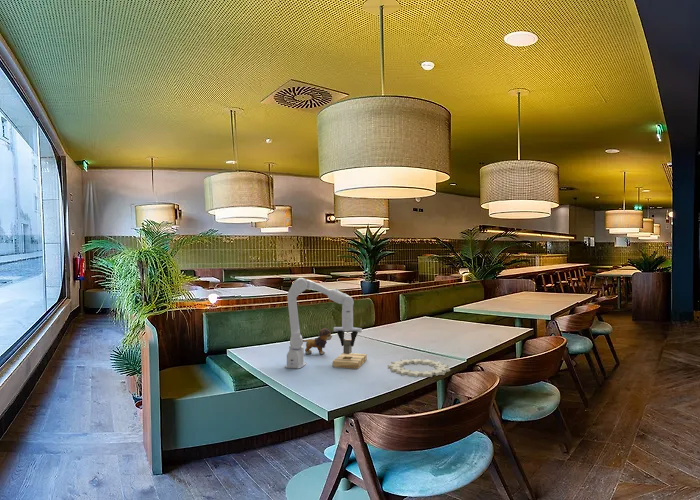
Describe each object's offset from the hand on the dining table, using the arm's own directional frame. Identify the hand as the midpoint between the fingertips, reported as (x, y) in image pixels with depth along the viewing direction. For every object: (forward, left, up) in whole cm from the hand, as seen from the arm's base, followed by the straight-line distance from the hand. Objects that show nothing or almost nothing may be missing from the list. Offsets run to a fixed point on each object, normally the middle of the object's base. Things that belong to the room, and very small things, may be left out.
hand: (347, 345), depth 227 cm
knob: (0, 0, -4) cm, 4 cm away
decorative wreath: (0, -36, -10) cm, 37 cm away
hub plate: (+1, -1, -9) cm, 9 cm away
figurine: (+16, +24, -9) cm, 30 cm away
